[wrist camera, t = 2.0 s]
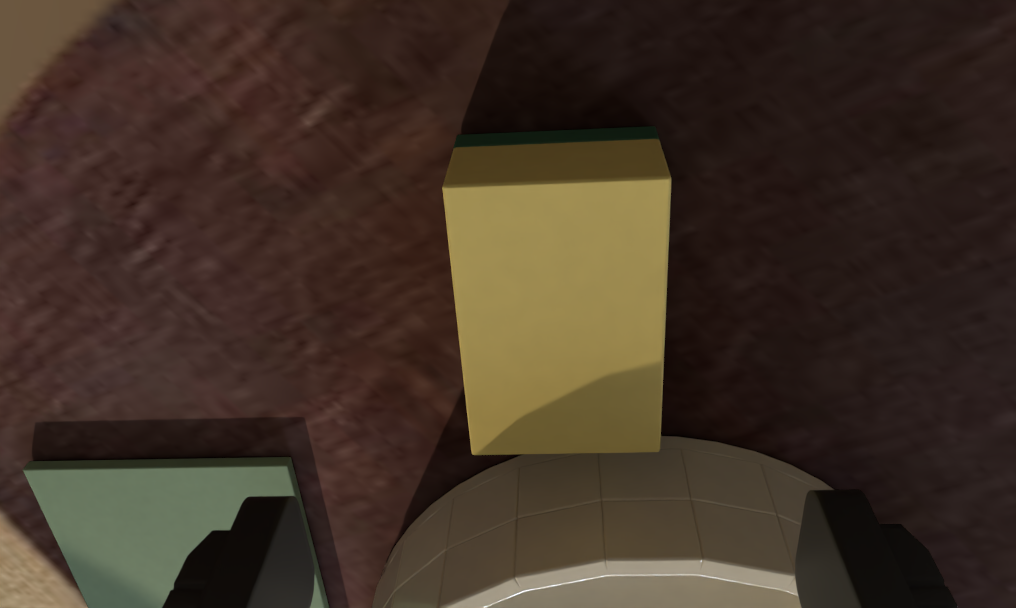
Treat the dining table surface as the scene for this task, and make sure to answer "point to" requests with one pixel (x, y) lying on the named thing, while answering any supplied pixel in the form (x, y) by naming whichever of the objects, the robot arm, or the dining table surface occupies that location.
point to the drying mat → (150, 518)
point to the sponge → (560, 288)
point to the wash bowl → (609, 533)
